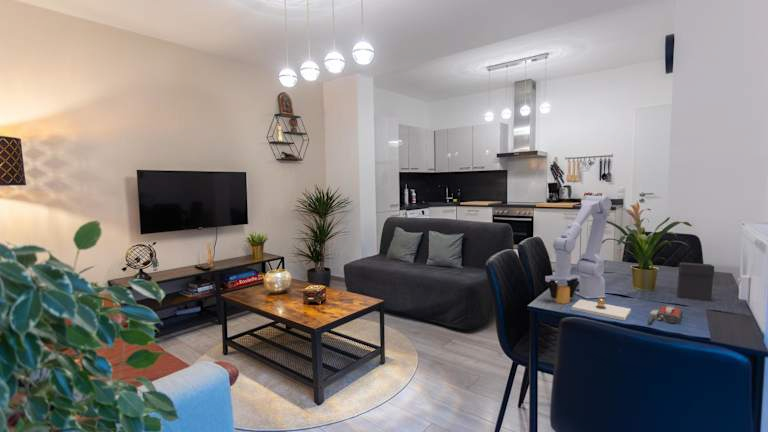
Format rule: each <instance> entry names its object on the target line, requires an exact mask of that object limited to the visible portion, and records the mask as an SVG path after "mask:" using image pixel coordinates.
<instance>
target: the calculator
mask: <svg viewBox="0 0 768 432" xmlns="http://www.w3.org/2000/svg"><path fill="white" fill-rule="evenodd" d="M678 265H679V266H678V275H677V276H678V277H677V291H676V292H677V293H676V294H677V295H676V296H677V297H678V298H679V299H685V298H689V299H688V300H695V299H700V300H699V301H705V300H711V301H712V295H713V282H714V276H715V266H714V265H712V264H711V263H710V264H707V263H695V262H679V264H678Z"/></svg>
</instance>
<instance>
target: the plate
mask: <svg viewBox="0 0 768 432" xmlns="http://www.w3.org/2000/svg"><path fill="white" fill-rule="evenodd" d="M570 308H571V310H572V311H576V312H581V313H586V314H591V315H595V316H596V315H597V316H600V317H605V318H611V319H614V320H618V321H623V322H624V321H626V319H627V318H628V317H629V315H630V313H631V312H632V308H629V307H628V308H627V307H622V306H617V305H613V304H608V303H607V304H606V299H605V298H604V297H603V298H597V301H593V300H592V301H591V300H587V299H579V300H578V301H577V302H575V303H574V304H573V305H572V306H571V307H570Z"/></svg>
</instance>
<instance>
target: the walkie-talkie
mask: <svg viewBox="0 0 768 432" xmlns="http://www.w3.org/2000/svg"><path fill="white" fill-rule="evenodd" d="M681 317H683V309H681V308H680V307H676V306H672V305H663V306H662V305H661V306H660V308H659V309H655V310H654V309H653V310H651V311H650V312H649V318H648V320H647V323H649V324H651V323H652V322H653V320H657V321H659V320H660V322H665V323H669V324H675V325H680V322H681V319H682V318H681Z"/></svg>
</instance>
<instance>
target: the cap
mask: <svg viewBox="0 0 768 432" xmlns="http://www.w3.org/2000/svg"><path fill="white" fill-rule="evenodd" d="M557 284H558V286H557V290H556V299H554V298H553V301H554V302H556V304H557V303H558V304H569V303H571V302H570V301H571V298H570V287H569V286H568V285H566V284H560V283H557Z"/></svg>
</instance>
